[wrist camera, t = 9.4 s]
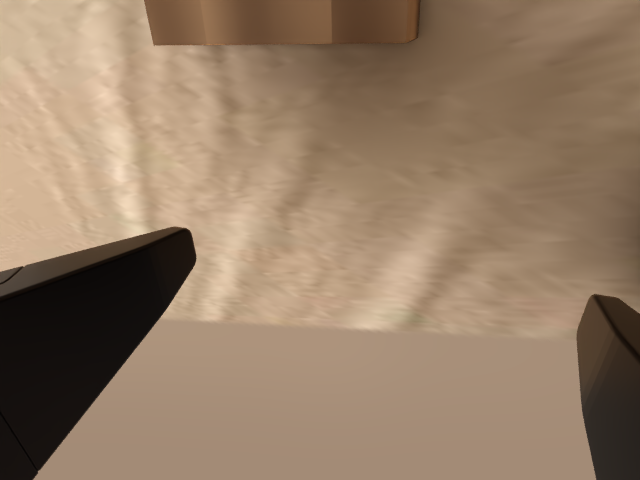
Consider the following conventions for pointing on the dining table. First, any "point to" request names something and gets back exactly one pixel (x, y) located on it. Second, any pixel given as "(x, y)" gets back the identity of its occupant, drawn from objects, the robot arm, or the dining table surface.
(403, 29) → the socket block
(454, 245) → the dining table surface
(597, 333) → the robot arm
